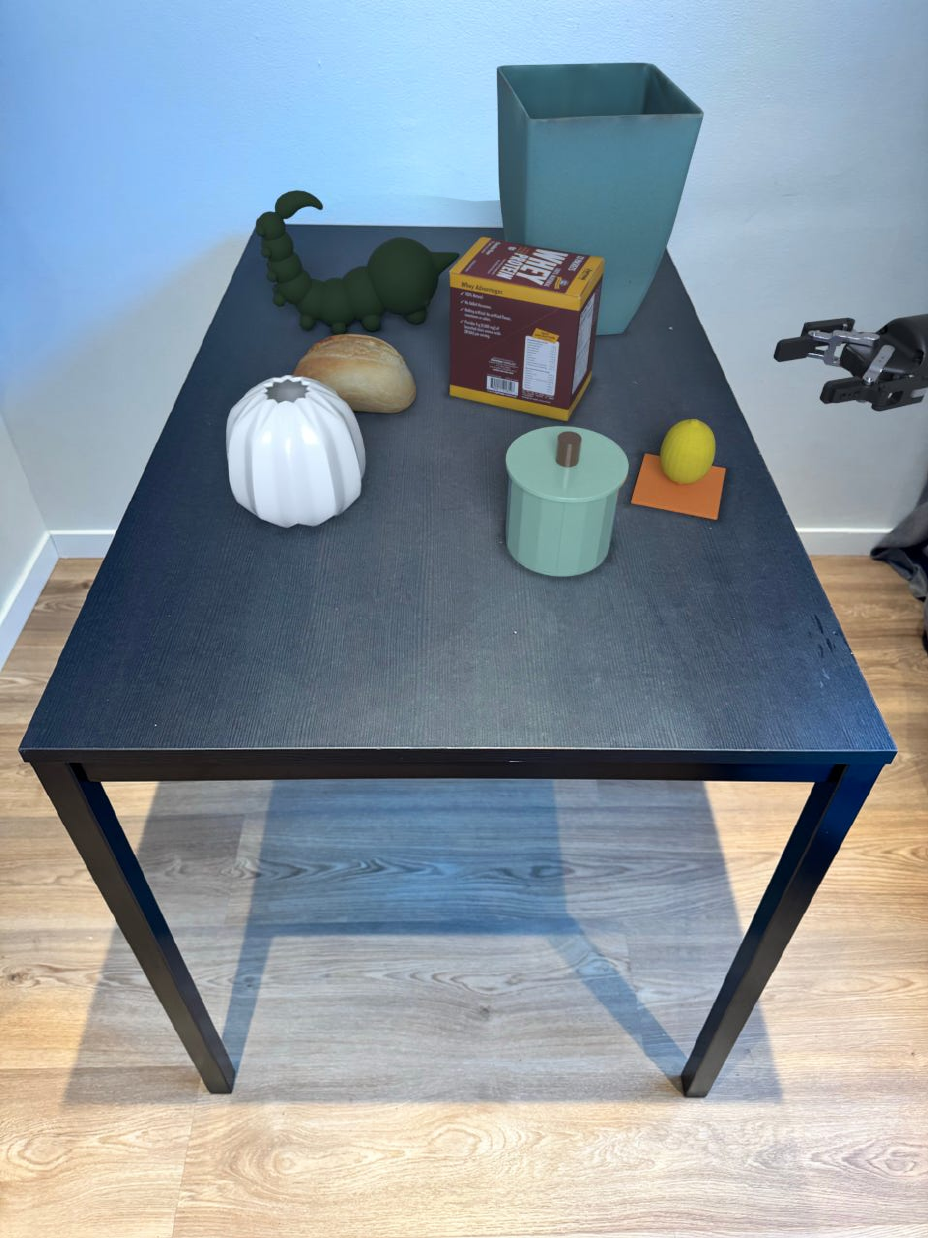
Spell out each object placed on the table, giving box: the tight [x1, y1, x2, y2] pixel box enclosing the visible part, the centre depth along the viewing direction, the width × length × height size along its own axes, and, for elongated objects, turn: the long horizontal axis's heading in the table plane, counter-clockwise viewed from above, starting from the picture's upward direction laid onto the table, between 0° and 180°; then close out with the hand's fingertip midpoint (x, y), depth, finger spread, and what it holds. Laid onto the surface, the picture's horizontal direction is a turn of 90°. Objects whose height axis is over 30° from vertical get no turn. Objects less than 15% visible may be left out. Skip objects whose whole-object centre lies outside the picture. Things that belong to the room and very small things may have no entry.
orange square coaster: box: [630, 453, 727, 521], centre depth 95 cm, size 9×9×1 cm
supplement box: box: [448, 236, 605, 422], centre depth 103 cm, size 10×15×16 cm
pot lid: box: [504, 425, 630, 503], centre depth 81 cm, size 11×11×4 cm
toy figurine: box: [255, 189, 461, 335], centre depth 113 cm, size 9×19×25 cm
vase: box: [225, 374, 367, 529], centre depth 88 cm, size 14×14×13 cm
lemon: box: [659, 418, 716, 485], centre depth 92 cm, size 6×6×8 cm
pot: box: [504, 475, 621, 577], centre depth 85 cm, size 10×10×9 cm
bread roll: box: [292, 333, 417, 414], centre depth 103 cm, size 10×15×8 cm, turn 93°
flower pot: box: [496, 62, 705, 336], centre depth 111 cm, size 20×20×28 cm
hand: (799, 371), depth 89 cm, fingers open, 8 cm apart
